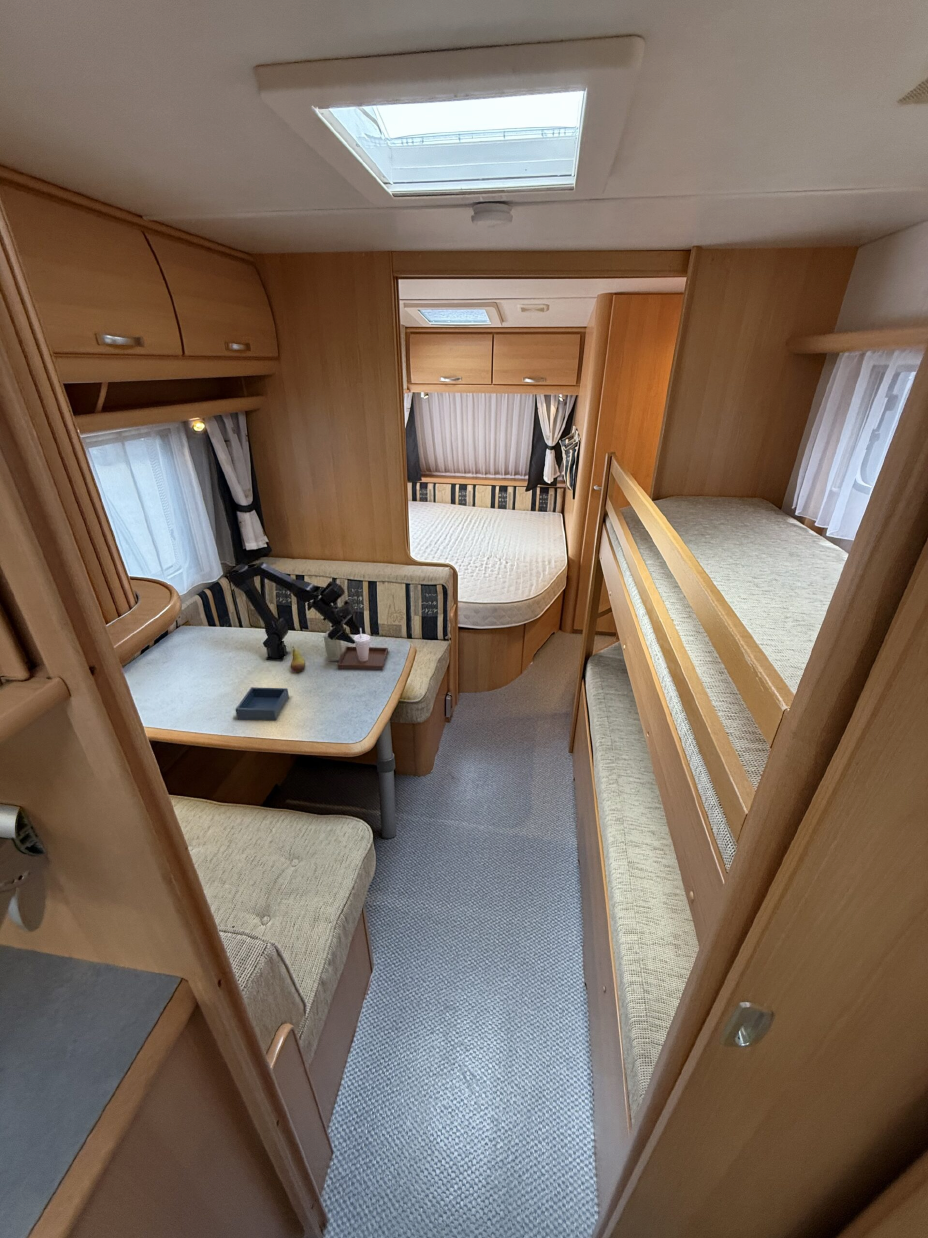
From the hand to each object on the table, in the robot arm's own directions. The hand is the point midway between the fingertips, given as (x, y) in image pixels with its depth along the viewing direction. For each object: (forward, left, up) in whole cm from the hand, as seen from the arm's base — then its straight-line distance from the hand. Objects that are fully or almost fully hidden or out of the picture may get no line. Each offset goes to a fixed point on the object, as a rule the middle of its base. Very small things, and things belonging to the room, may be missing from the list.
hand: (357, 637), depth 191 cm
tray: (+2, 0, -10) cm, 10 cm away
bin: (-25, -33, -10) cm, 43 cm away
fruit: (-21, -9, -10) cm, 25 cm away
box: (-10, +1, -10) cm, 15 cm away
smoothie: (+2, 0, -10) cm, 10 cm away
